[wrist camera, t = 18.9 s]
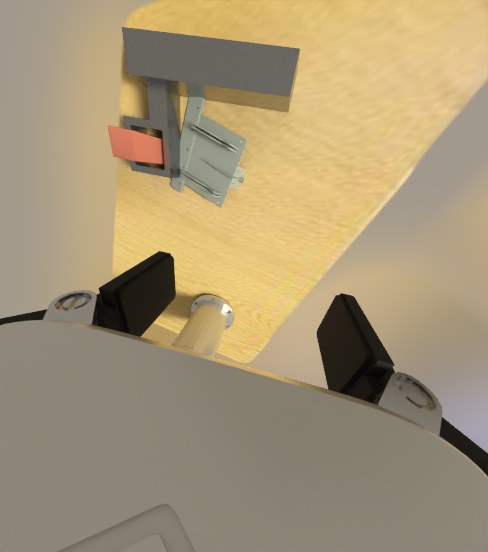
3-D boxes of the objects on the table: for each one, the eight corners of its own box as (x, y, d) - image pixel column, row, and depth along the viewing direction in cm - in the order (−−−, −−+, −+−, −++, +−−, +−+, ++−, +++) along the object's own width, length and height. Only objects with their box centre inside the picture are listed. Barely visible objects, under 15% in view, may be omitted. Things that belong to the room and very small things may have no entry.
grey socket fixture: (270, 194, 33) (268, 198, 28) (146, 170, 35) (123, 170, 30) (296, 75, 25) (300, 48, 20) (133, 53, 27) (98, 24, 22)
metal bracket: (253, 122, 24) (215, 220, 32) (266, 136, 29) (231, 218, 37) (176, 81, 27) (158, 182, 34) (201, 100, 32) (180, 185, 39)
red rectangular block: (173, 165, 34) (135, 161, 25) (156, 161, 34) (113, 156, 25) (172, 142, 32) (131, 130, 23) (154, 139, 32) (107, 125, 24)
